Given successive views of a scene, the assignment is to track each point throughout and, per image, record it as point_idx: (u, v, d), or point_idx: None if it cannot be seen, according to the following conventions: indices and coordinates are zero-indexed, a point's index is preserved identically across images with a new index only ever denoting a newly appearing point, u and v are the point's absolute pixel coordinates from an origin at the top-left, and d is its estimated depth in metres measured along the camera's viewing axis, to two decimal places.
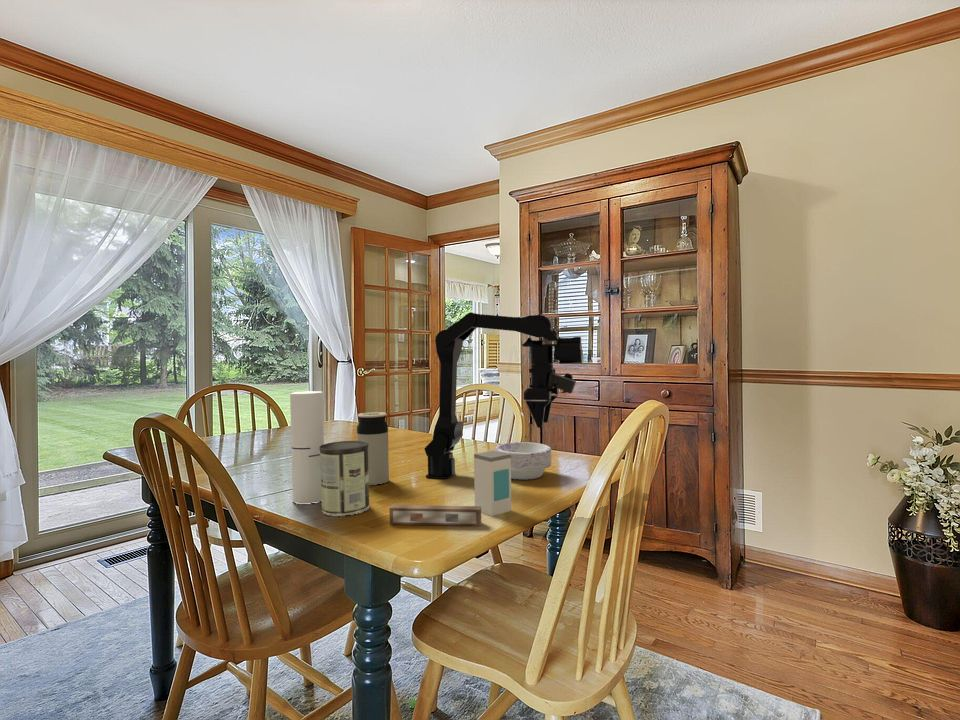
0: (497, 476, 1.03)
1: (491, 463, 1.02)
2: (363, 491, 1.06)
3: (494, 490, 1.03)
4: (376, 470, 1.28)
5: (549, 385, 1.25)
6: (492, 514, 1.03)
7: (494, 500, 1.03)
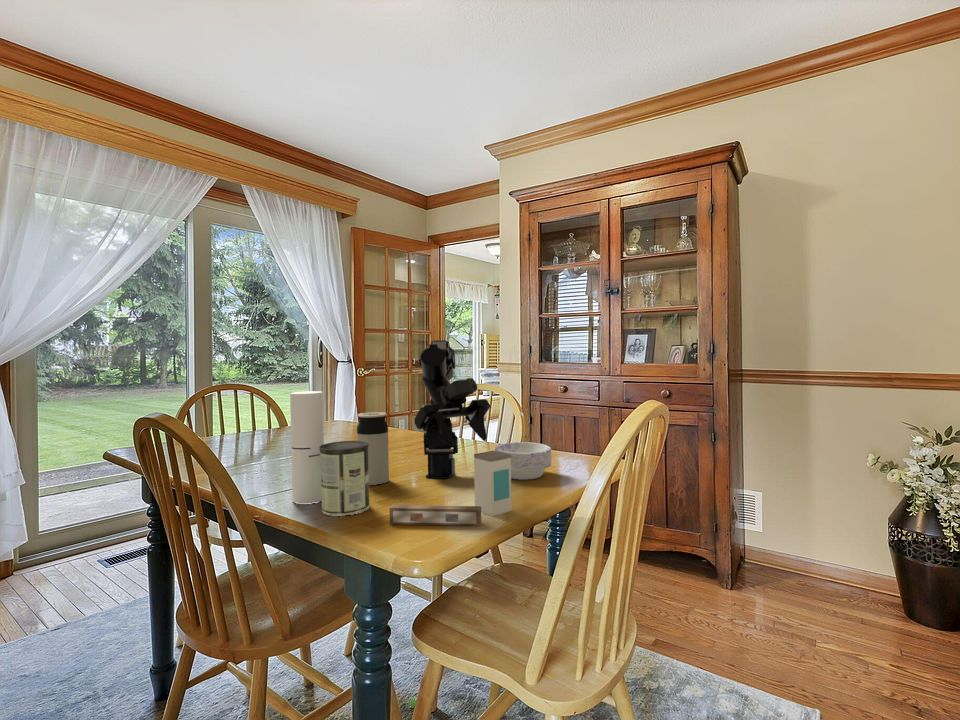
0: (497, 476, 1.03)
1: (491, 463, 1.02)
2: (363, 491, 1.06)
3: (494, 490, 1.03)
4: (376, 470, 1.28)
5: (443, 401, 1.15)
6: (492, 514, 1.03)
7: (494, 500, 1.03)
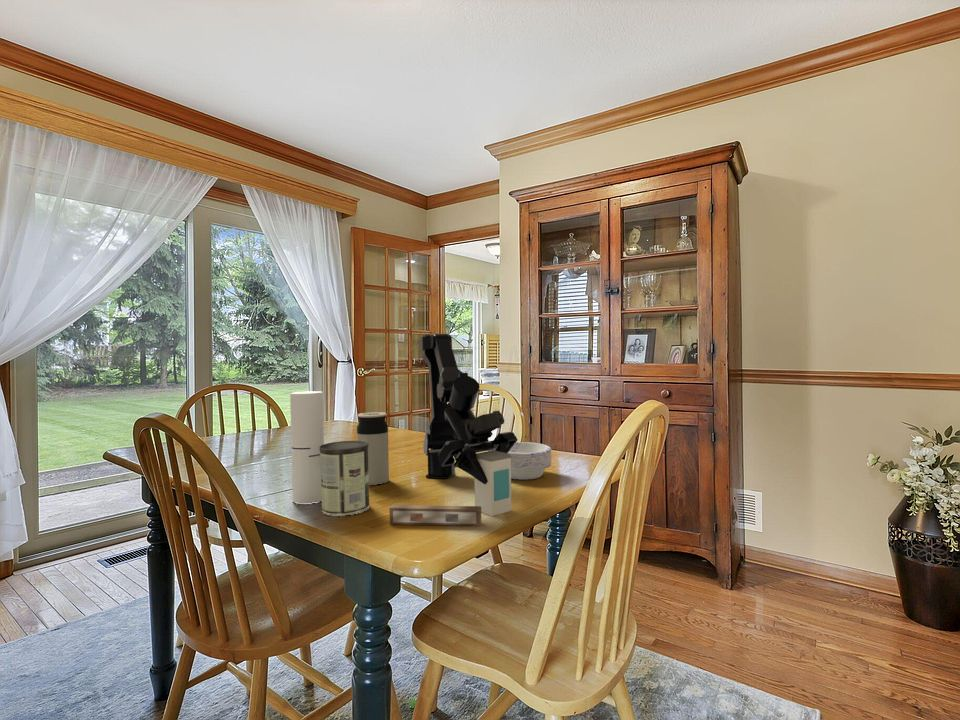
0: (497, 476, 1.03)
1: (491, 463, 1.02)
2: (363, 491, 1.06)
3: (494, 490, 1.03)
4: (376, 470, 1.28)
5: (468, 436, 1.08)
6: (492, 514, 1.03)
7: (494, 500, 1.03)
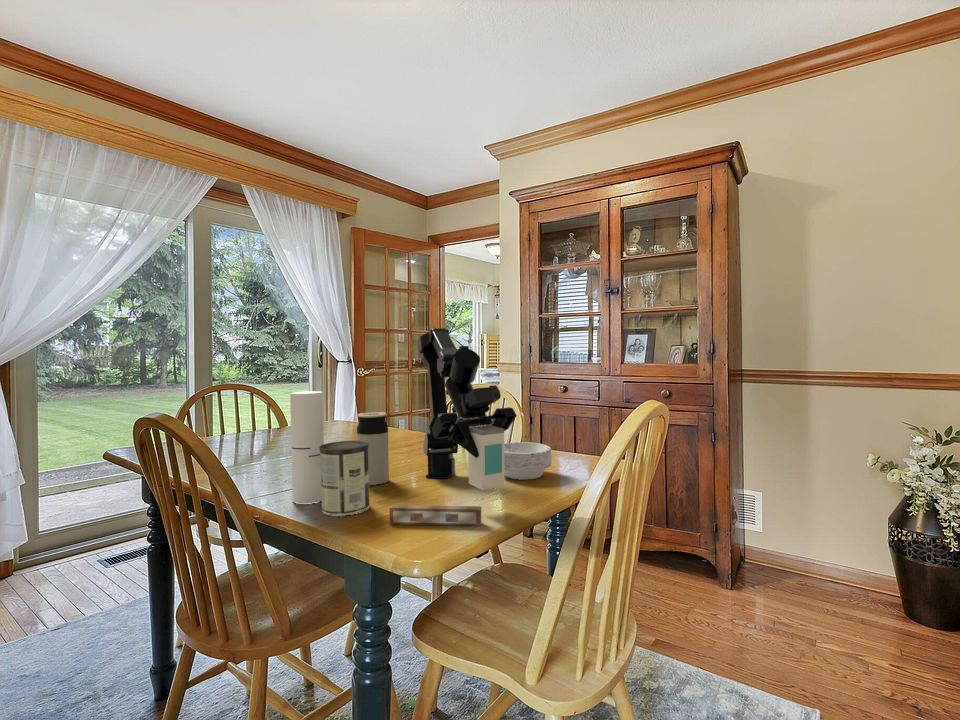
0: (488, 450, 1.02)
1: (482, 437, 1.02)
2: (363, 491, 1.06)
3: (485, 464, 1.02)
4: (376, 470, 1.28)
5: (463, 409, 1.07)
6: (483, 488, 1.02)
7: (485, 474, 1.02)
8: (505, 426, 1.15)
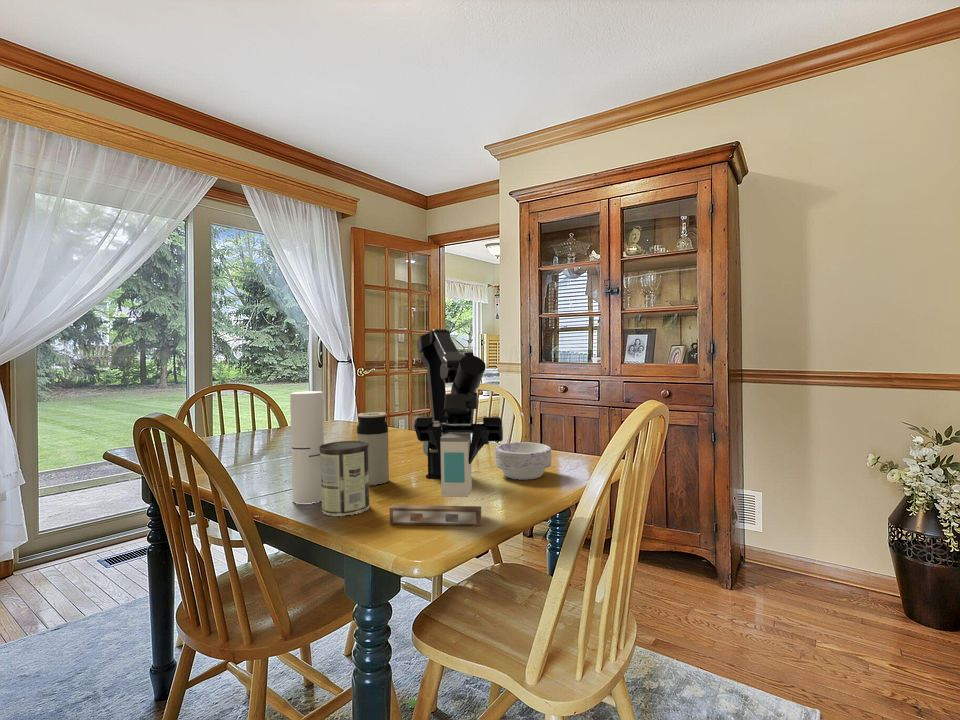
0: (448, 457, 1.01)
1: (441, 443, 1.01)
2: (363, 491, 1.06)
3: (444, 471, 1.01)
4: (376, 470, 1.28)
5: None
6: (442, 495, 1.01)
7: (445, 481, 1.01)
8: (499, 437, 1.08)
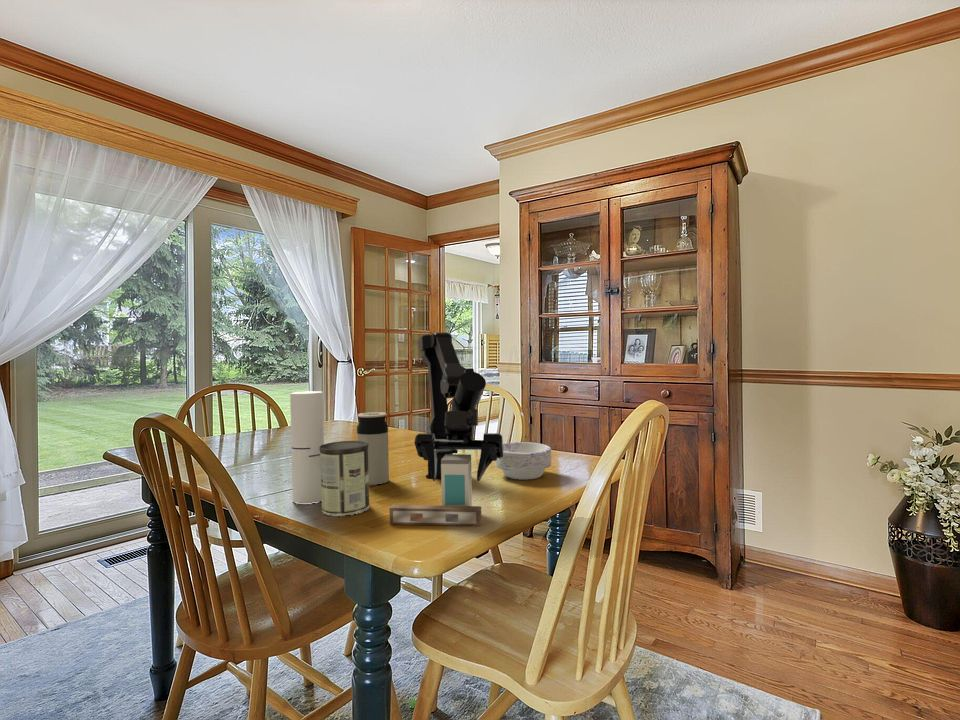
0: (448, 480, 1.01)
1: (441, 466, 1.01)
2: (363, 491, 1.06)
3: (445, 493, 1.01)
4: (376, 470, 1.28)
5: None
6: None
7: (445, 504, 1.01)
8: (500, 453, 1.08)
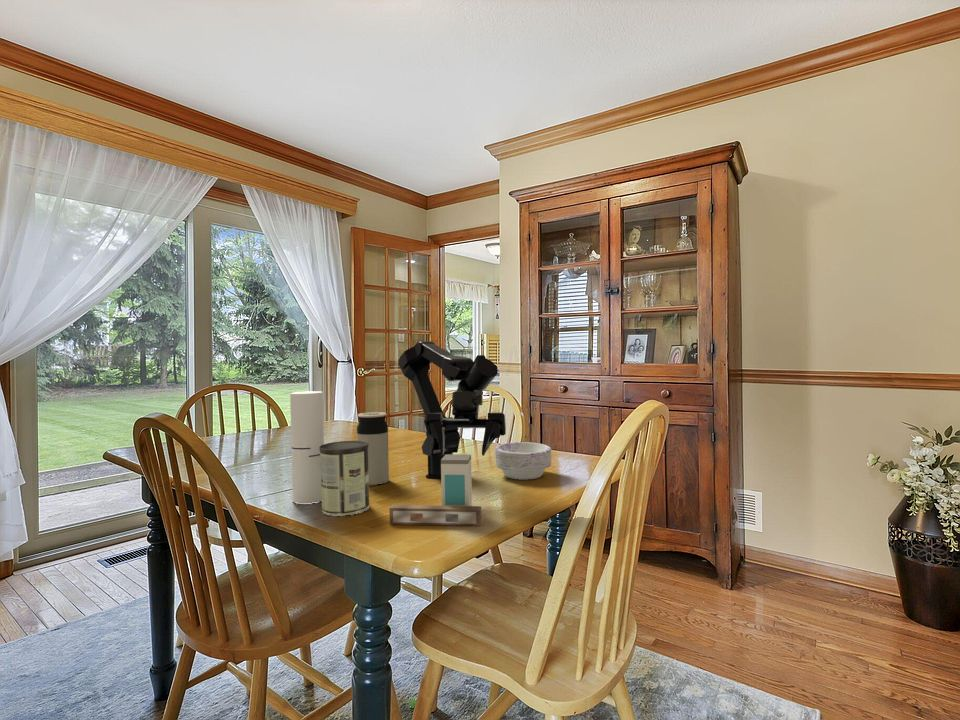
0: (448, 480, 1.01)
1: (441, 466, 1.01)
2: (363, 491, 1.06)
3: (445, 493, 1.01)
4: (376, 470, 1.28)
5: None
6: None
7: (445, 504, 1.01)
8: (503, 431, 1.18)
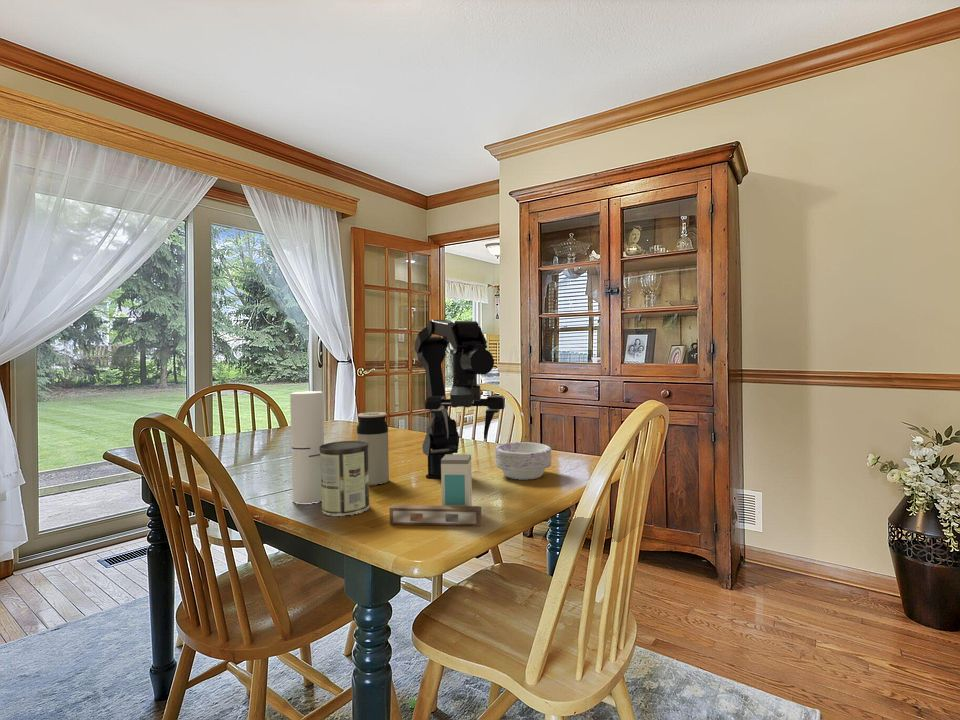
0: (448, 480, 1.01)
1: (441, 466, 1.01)
2: (363, 491, 1.06)
3: (445, 493, 1.01)
4: (376, 470, 1.28)
5: None
6: None
7: (445, 504, 1.01)
8: None
